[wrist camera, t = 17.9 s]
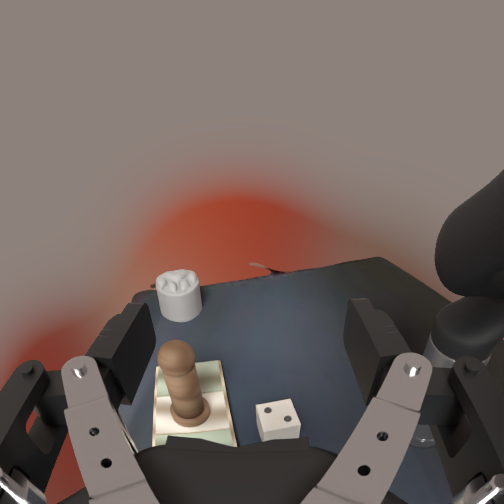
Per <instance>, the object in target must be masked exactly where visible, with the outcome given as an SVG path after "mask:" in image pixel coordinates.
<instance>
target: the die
mask: <svg viewBox="0 0 504 504" xmlns="http://www.w3.org/2000/svg"><path fill="white" fill-rule="evenodd" d="M256 419H257V427H258V431H259V434H260V438H261V441H262V442H264V441H268V440H272V439H291V438H299V433H300V426H301V423H300V421H299V419H298V416H297V414H296V411H295V409H294V406H293V404H292V401H291V399H286V400H281V401H276V402H270V403H265V404H259V405H256Z"/></svg>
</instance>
